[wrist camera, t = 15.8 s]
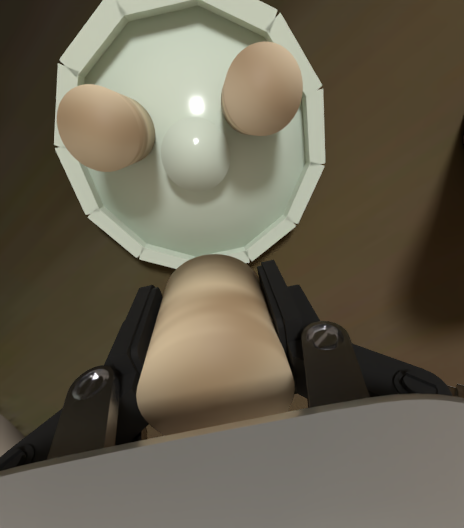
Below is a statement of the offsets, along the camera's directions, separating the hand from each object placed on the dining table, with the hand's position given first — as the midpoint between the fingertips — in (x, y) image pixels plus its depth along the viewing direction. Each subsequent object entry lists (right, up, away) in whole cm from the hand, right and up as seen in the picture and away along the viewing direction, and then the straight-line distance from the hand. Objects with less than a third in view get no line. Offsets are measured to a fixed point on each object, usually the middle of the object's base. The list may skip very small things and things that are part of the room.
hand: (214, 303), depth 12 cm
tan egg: (-7, +11, +8) cm, 16 cm away
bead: (+2, +13, +8) cm, 16 cm away
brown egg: (0, 0, 0) cm, 0 cm away
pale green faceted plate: (-2, +11, +10) cm, 15 cm away
